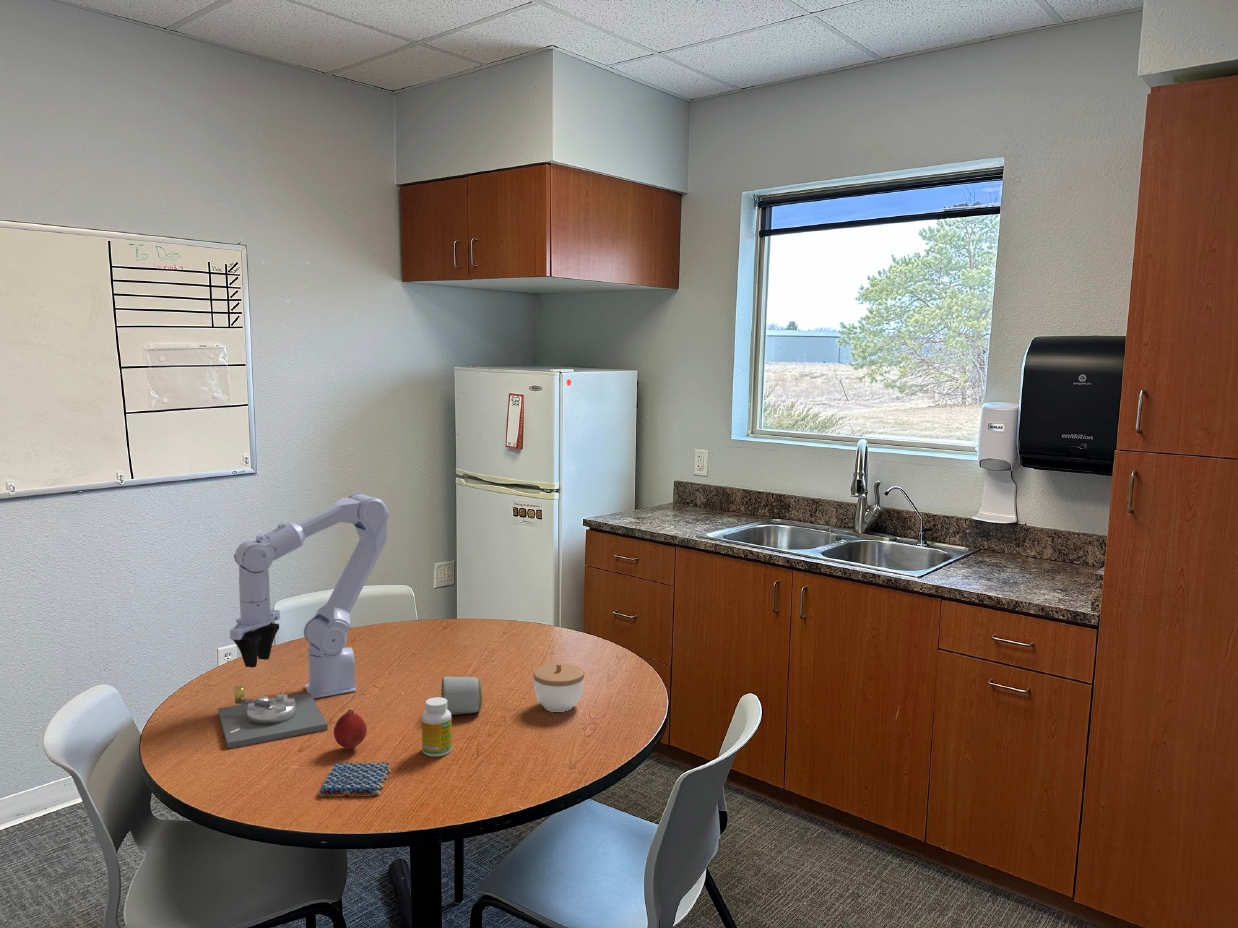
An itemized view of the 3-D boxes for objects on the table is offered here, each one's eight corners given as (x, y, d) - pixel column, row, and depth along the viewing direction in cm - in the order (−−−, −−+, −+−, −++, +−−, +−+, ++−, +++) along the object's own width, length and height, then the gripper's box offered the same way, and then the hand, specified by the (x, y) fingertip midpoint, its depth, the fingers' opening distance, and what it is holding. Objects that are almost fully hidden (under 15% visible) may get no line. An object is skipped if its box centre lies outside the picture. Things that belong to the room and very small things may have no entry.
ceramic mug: (483, 717, 178) (483, 680, 177) (442, 721, 176) (442, 684, 175) (477, 698, 188) (477, 664, 187) (439, 702, 186) (438, 667, 185)
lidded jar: (594, 706, 184) (594, 664, 183) (557, 721, 176) (557, 677, 175) (559, 693, 191) (560, 652, 190) (522, 707, 183) (522, 664, 182)
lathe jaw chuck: (304, 708, 178) (303, 684, 177) (279, 726, 169) (278, 700, 168) (249, 703, 180) (248, 679, 179) (222, 720, 171) (221, 695, 171)
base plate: (310, 697, 187) (310, 692, 186) (327, 729, 171) (327, 723, 171) (218, 713, 178) (218, 707, 178) (227, 748, 162) (227, 742, 162)
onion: (337, 759, 159) (336, 717, 158) (332, 746, 164) (330, 705, 163) (369, 752, 161) (368, 711, 160) (363, 740, 166) (362, 700, 165)
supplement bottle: (444, 758, 159) (444, 708, 158) (417, 755, 160) (416, 705, 159) (456, 746, 165) (455, 696, 163) (429, 743, 166) (428, 694, 164)
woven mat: (393, 770, 156) (393, 759, 156) (379, 800, 145) (379, 788, 145) (334, 770, 155) (334, 759, 155) (316, 800, 145) (316, 789, 145)
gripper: (257, 588, 187) (260, 649, 189) (215, 607, 173) (218, 673, 174) (287, 590, 186) (290, 652, 187) (247, 609, 172) (249, 676, 173)
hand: (257, 662), depth 181 cm, fingers open, 4 cm apart
